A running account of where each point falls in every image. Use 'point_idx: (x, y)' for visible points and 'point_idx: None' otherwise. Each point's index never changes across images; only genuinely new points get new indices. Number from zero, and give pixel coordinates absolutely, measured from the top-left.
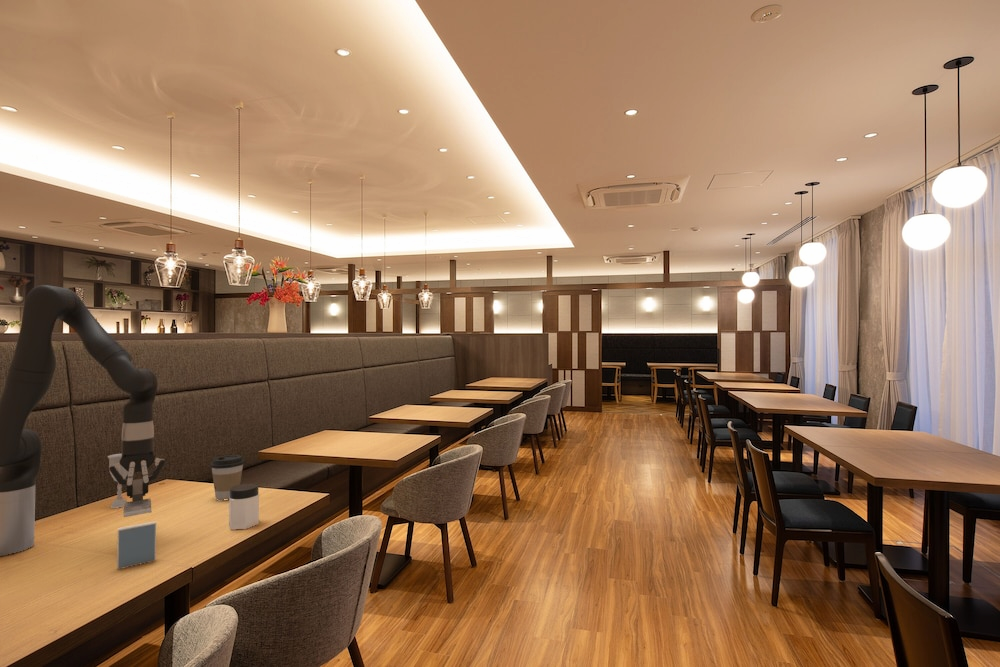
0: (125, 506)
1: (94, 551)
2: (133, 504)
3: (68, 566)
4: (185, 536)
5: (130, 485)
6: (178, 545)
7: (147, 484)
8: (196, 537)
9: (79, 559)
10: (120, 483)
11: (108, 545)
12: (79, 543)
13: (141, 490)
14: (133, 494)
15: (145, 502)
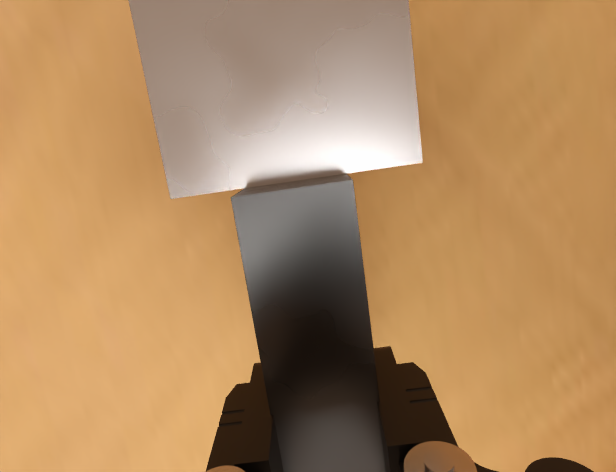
0: (393, 16)
1: (484, 185)
2: (317, 49)
3: (578, 14)
4: (96, 182)
5: (415, 446)
6: (99, 47)
7: (218, 464)
8: (33, 134)
9: (538, 99)
10: (570, 469)
11: (434, 241)
12: (553, 337)
13: (269, 325)
14: (341, 200)
15: (198, 66)
